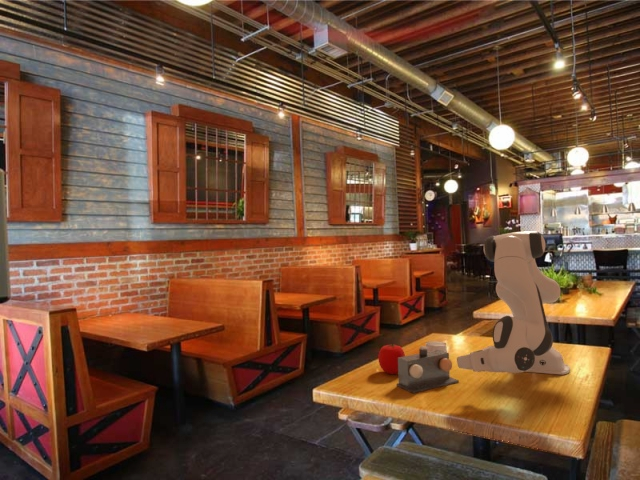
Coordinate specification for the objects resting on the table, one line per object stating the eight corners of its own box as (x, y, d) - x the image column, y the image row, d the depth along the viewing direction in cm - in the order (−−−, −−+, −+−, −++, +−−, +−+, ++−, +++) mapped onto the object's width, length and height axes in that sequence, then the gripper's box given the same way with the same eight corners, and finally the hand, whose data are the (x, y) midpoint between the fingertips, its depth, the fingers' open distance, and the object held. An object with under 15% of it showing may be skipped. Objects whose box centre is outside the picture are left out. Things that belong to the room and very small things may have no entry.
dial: (428, 354, 175) (428, 345, 175) (425, 356, 172) (425, 347, 172) (421, 353, 177) (420, 345, 177) (418, 355, 174) (417, 346, 174)
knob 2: (452, 370, 174) (451, 358, 174) (442, 372, 172) (442, 360, 172) (436, 364, 183) (435, 353, 183) (427, 366, 180) (426, 354, 180)
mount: (458, 382, 173) (457, 354, 173) (413, 393, 163) (412, 364, 163) (441, 375, 182) (440, 349, 182) (396, 385, 172) (395, 358, 172)
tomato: (411, 374, 185) (410, 345, 185) (388, 379, 180) (387, 348, 180) (395, 367, 196) (394, 339, 196) (373, 371, 192) (372, 342, 192)
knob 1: (423, 377, 167) (422, 364, 167) (412, 379, 165) (412, 366, 165) (407, 371, 176) (407, 358, 176) (397, 373, 173) (397, 360, 173)
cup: (448, 374, 183) (447, 346, 183) (426, 374, 185) (425, 346, 185) (446, 368, 192) (445, 341, 192) (425, 367, 194) (424, 340, 194)
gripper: (519, 345, 152) (496, 346, 165) (467, 353, 147) (448, 353, 161) (524, 364, 151) (500, 363, 164) (471, 372, 146) (451, 371, 159)
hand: (474, 358), depth 162 cm, fingers closed
